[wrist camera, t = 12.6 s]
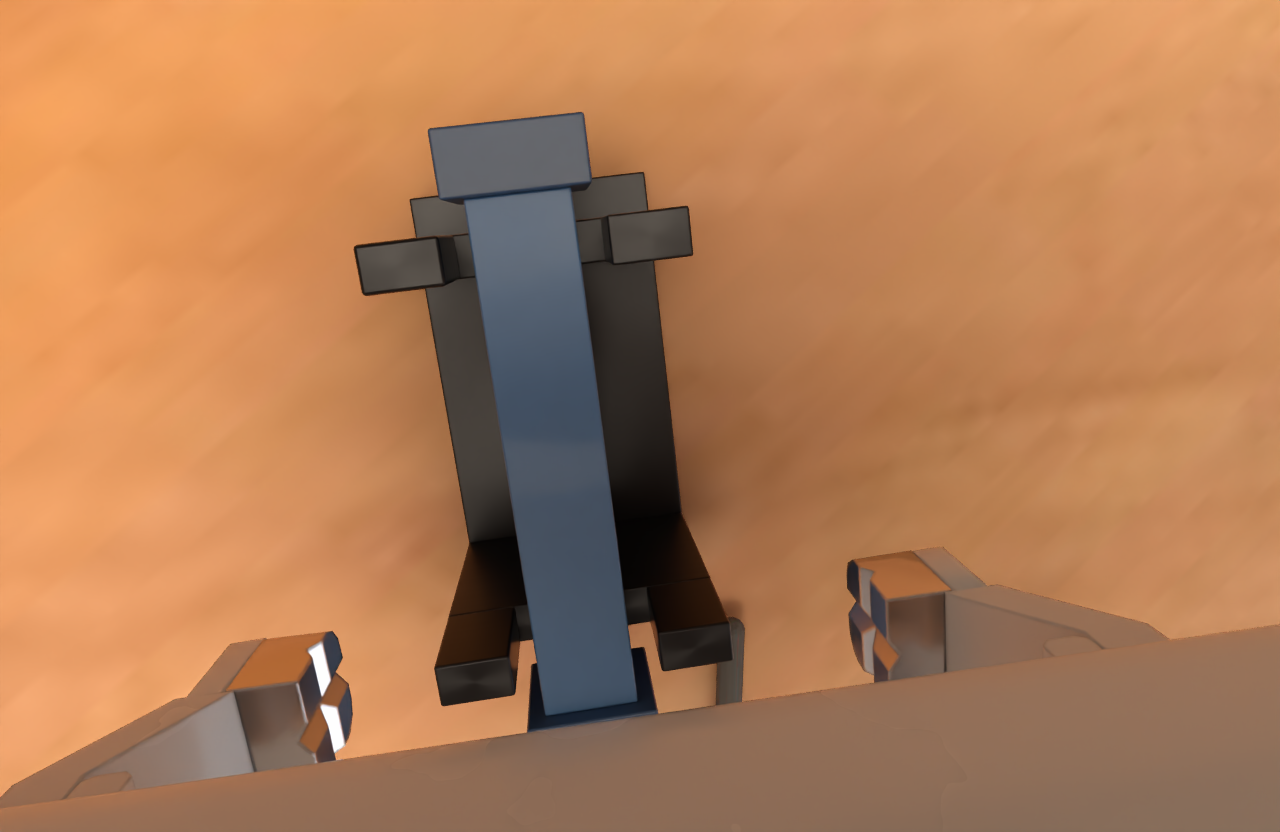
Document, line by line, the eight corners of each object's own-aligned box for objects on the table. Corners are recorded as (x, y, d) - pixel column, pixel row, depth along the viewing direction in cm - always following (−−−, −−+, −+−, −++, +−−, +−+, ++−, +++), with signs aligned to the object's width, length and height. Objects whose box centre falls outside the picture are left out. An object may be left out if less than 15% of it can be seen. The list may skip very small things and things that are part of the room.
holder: (640, 174, 29) (682, 144, 19) (684, 563, 33) (738, 706, 23) (415, 200, 29) (340, 183, 19) (483, 593, 32) (449, 753, 22)
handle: (579, 130, 22) (584, 111, 19) (650, 690, 26) (664, 760, 23) (447, 144, 22) (426, 127, 19) (538, 708, 26) (535, 782, 23)
